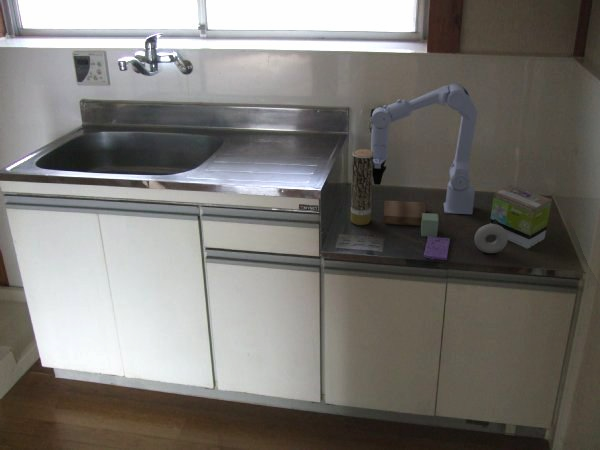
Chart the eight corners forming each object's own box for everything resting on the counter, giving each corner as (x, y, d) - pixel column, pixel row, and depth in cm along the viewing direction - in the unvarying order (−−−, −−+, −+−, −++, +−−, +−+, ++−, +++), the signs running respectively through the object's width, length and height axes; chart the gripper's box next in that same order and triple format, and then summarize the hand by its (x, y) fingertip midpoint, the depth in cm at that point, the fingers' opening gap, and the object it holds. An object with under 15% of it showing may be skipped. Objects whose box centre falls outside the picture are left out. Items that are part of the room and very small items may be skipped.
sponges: (449, 243, 206) (450, 238, 205) (446, 262, 195) (447, 257, 194) (427, 240, 208) (427, 235, 207) (423, 259, 197) (423, 254, 196)
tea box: (487, 233, 211) (493, 192, 204) (505, 223, 216) (511, 183, 210) (527, 250, 200) (535, 207, 194) (545, 239, 206) (553, 198, 199)
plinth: (424, 210, 226) (424, 202, 225) (425, 225, 216) (425, 217, 214) (384, 208, 228) (384, 200, 227) (383, 223, 217) (383, 215, 216)
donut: (473, 254, 198) (476, 225, 194) (472, 249, 201) (475, 220, 197) (506, 256, 197) (511, 227, 192) (504, 250, 200) (509, 222, 195)
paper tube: (373, 219, 220) (376, 150, 209) (366, 227, 215) (369, 157, 203) (354, 215, 223) (356, 147, 211) (347, 223, 217) (349, 154, 206)
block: (436, 230, 213) (437, 213, 210) (436, 237, 209) (438, 220, 206) (420, 229, 214) (422, 213, 211) (421, 236, 209) (422, 219, 207)
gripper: (369, 135, 226) (367, 171, 232) (366, 150, 213) (364, 187, 219) (389, 136, 225) (387, 172, 231) (387, 151, 212) (385, 188, 218)
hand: (377, 179), depth 225 cm, fingers open, 7 cm apart
